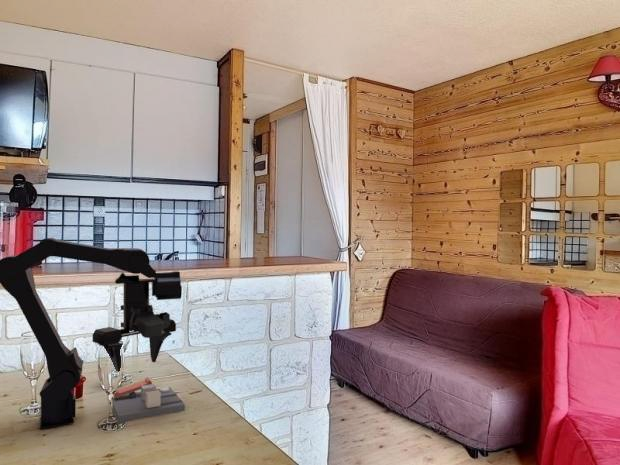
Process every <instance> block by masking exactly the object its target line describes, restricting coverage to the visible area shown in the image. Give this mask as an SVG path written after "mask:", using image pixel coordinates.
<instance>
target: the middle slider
mask: <svg viewBox="0 0 620 465" xmlns="http://www.w3.org/2000/svg"><path fill="white" fill-rule="evenodd" d="M156 387H157V386H156V385H155V384H154V383H152V384H151V385H144V386H141V389H140V392H141V399H142V400H143V401H145V392H150V391H156V389H157V388H156Z"/></svg>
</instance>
